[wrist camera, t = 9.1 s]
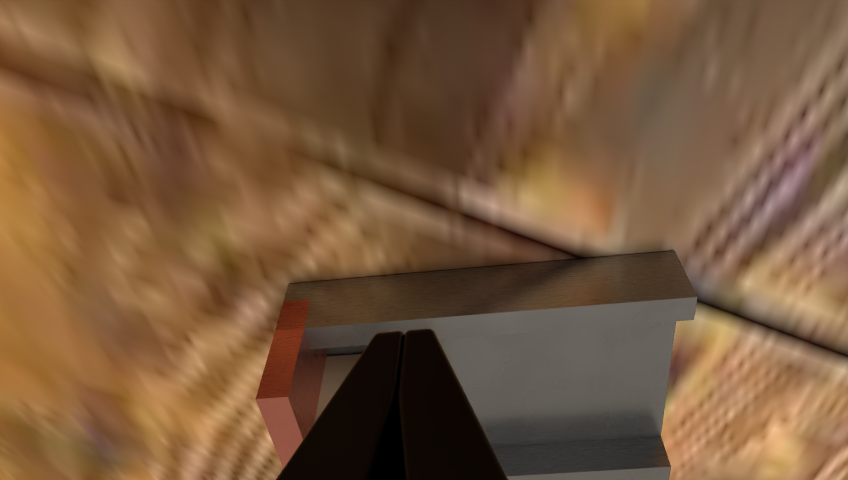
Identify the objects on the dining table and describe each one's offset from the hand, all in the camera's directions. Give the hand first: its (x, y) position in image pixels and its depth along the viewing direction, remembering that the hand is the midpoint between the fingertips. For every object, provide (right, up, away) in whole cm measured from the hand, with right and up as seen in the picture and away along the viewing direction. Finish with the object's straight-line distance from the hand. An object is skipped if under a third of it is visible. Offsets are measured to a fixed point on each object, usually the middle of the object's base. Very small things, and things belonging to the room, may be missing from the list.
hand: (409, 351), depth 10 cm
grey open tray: (+3, -3, +17) cm, 18 cm away
